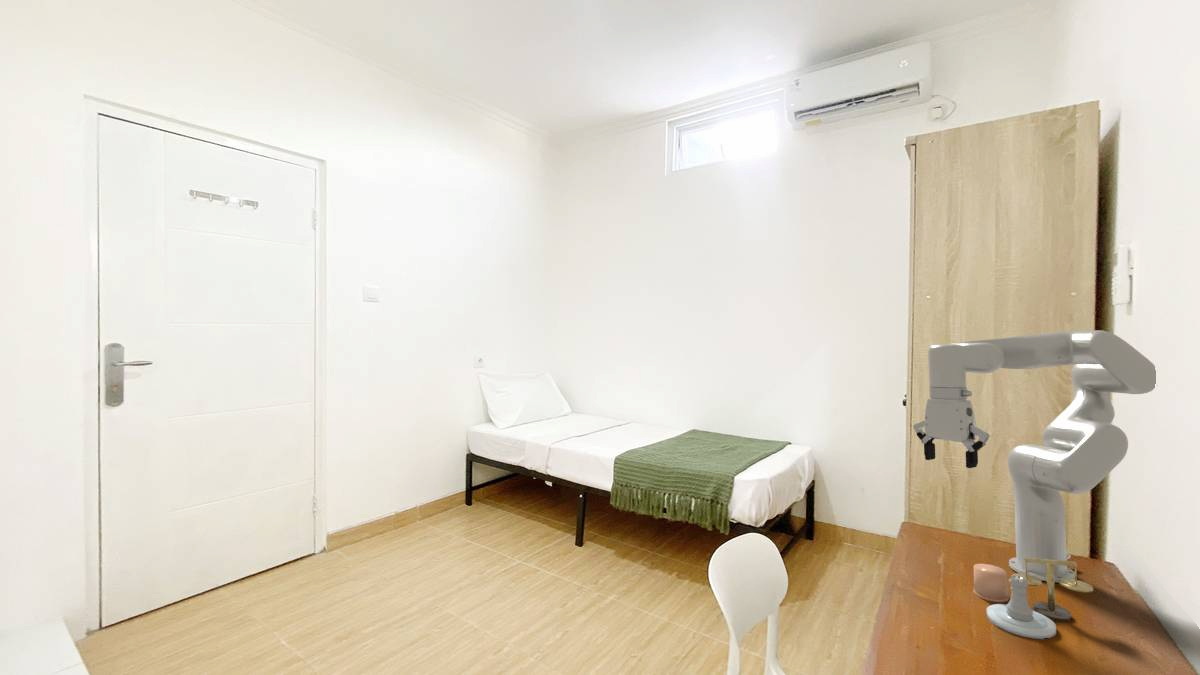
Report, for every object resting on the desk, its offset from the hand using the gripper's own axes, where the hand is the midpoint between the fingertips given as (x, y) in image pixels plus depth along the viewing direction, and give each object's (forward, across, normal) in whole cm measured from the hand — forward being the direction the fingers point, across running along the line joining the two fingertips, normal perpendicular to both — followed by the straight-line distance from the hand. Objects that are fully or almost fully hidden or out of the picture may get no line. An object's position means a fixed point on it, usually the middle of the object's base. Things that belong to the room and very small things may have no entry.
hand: (950, 463), depth 125 cm
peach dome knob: (+28, -9, +2) cm, 30 cm away
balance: (+28, -19, -1) cm, 34 cm away
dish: (+28, -18, +9) cm, 35 cm away
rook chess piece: (+27, -18, +9) cm, 34 cm away
